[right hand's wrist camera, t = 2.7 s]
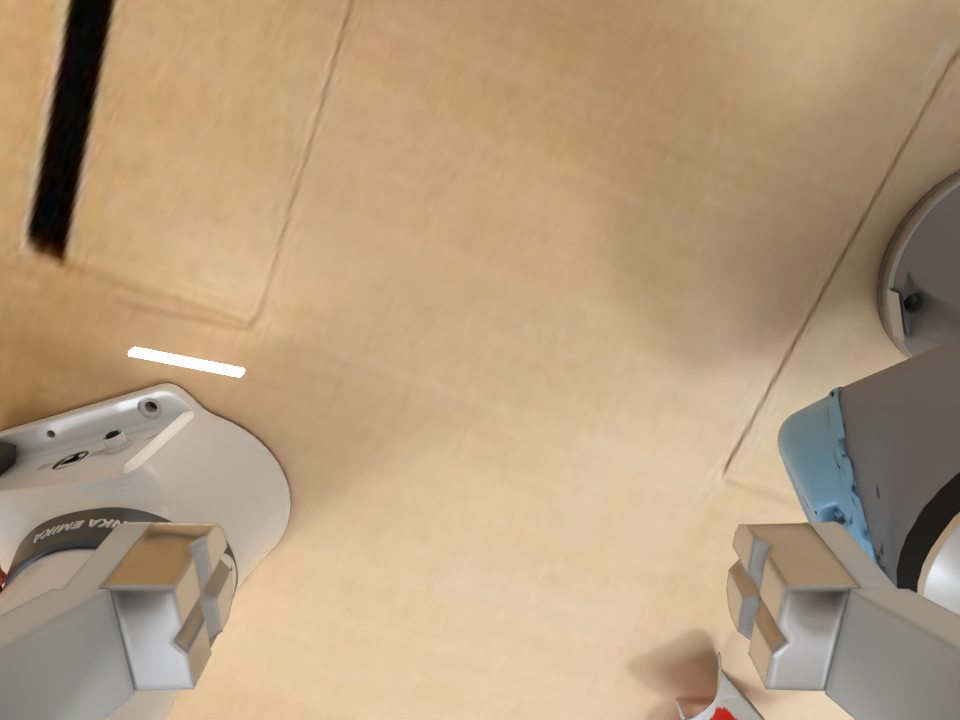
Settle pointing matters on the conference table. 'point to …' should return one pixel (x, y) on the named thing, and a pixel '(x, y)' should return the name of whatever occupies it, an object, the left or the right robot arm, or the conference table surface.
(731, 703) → the fish
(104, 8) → the conference table surface
